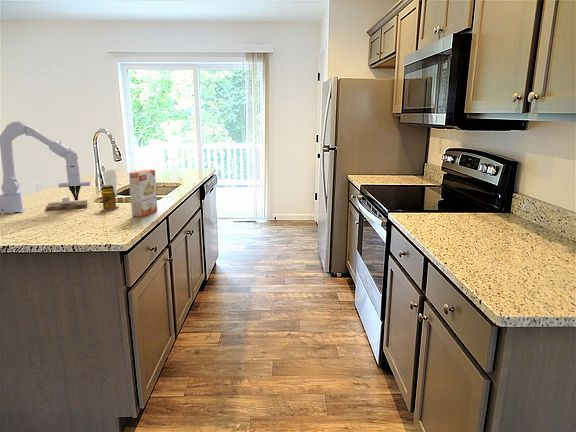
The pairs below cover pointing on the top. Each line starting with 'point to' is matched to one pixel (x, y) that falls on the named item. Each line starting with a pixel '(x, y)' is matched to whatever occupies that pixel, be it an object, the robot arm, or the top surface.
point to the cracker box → (143, 192)
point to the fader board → (67, 205)
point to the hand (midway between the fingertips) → (76, 200)
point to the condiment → (108, 198)
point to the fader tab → (65, 199)
